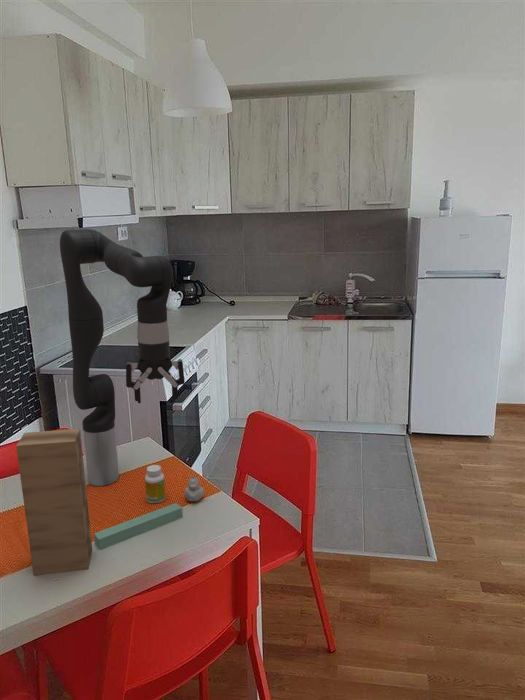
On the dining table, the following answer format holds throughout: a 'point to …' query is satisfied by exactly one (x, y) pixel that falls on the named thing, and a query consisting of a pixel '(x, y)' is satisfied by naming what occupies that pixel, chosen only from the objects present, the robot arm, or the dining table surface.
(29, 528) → the stand
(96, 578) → the dining table surface
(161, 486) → the supplement bottle
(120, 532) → the rod
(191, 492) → the grey rounded piece
